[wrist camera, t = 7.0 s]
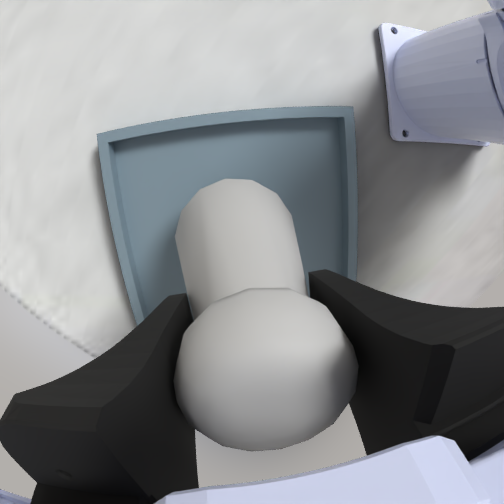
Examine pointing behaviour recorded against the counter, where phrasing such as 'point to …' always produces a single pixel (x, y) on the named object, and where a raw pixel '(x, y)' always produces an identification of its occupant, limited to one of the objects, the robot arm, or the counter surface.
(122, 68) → the counter surface
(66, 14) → the counter surface
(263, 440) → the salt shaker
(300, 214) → the tray
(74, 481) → the robot arm
